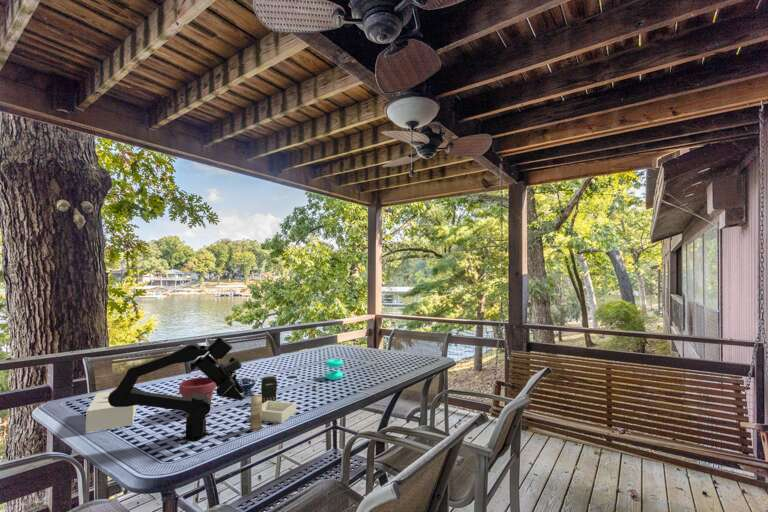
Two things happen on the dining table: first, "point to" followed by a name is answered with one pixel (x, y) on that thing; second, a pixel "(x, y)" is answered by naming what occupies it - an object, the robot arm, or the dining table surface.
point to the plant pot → (197, 387)
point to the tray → (277, 411)
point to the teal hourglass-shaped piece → (334, 374)
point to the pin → (256, 412)
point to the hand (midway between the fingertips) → (242, 395)
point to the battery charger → (268, 388)
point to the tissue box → (107, 414)
